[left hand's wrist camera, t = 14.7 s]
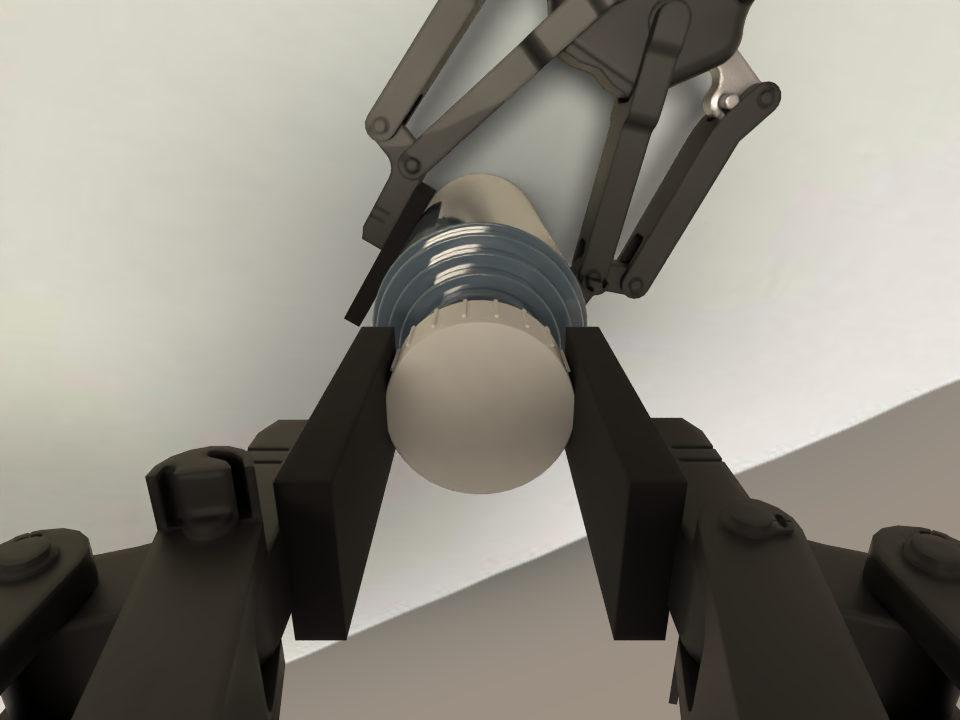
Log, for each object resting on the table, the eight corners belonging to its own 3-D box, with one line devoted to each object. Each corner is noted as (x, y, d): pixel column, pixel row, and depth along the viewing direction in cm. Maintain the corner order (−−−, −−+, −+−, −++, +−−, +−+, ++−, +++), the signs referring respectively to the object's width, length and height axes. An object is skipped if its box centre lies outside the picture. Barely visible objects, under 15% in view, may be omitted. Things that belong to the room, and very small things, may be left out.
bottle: (531, 165, 32) (616, 239, 12) (543, 282, 34) (633, 508, 14) (412, 183, 32) (301, 285, 12) (432, 297, 35) (368, 539, 15)
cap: (485, 259, 13) (487, 276, 12) (603, 386, 14) (618, 418, 13) (356, 376, 14) (341, 407, 13) (475, 487, 16) (474, 528, 14)
